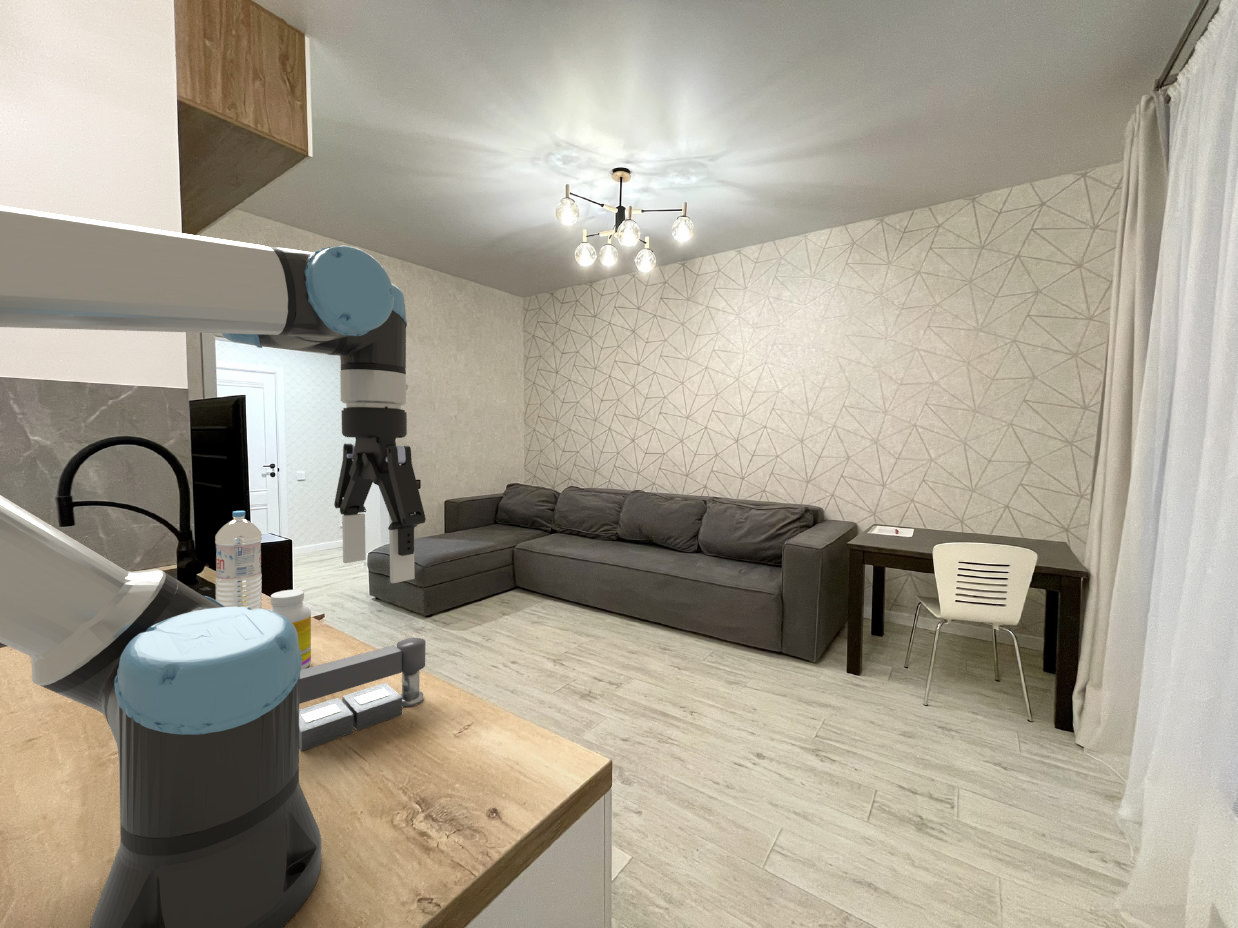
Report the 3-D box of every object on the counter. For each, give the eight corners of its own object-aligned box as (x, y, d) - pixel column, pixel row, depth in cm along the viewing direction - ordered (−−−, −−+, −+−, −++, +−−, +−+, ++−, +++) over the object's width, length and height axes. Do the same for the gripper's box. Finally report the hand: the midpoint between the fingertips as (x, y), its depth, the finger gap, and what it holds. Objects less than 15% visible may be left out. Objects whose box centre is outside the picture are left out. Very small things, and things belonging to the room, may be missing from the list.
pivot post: (403, 709, 73) (403, 677, 73) (393, 700, 76) (393, 668, 75) (427, 700, 76) (428, 669, 75) (417, 692, 78) (417, 661, 78)
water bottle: (222, 640, 95) (221, 509, 94) (265, 635, 98) (265, 508, 97) (210, 654, 89) (209, 514, 88) (257, 649, 92) (256, 513, 91)
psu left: (301, 751, 63) (301, 731, 63) (289, 731, 67) (289, 712, 67) (353, 732, 67) (353, 713, 67) (338, 714, 71) (338, 696, 71)
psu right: (357, 731, 67) (357, 712, 67) (342, 713, 72) (342, 695, 71) (402, 714, 72) (402, 696, 72) (385, 698, 76) (385, 681, 76)
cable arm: (299, 707, 63) (299, 679, 63) (291, 695, 66) (291, 668, 66) (429, 667, 75) (430, 643, 75) (418, 658, 78) (418, 635, 78)
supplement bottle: (320, 661, 88) (320, 588, 87) (291, 679, 81) (291, 600, 81) (284, 658, 88) (284, 586, 88) (253, 676, 82) (253, 598, 81)
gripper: (455, 406, 59) (455, 583, 60) (362, 410, 75) (364, 550, 76) (392, 402, 53) (394, 598, 55) (306, 407, 69) (309, 559, 71)
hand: (376, 570), depth 66 cm, fingers open, 13 cm apart
